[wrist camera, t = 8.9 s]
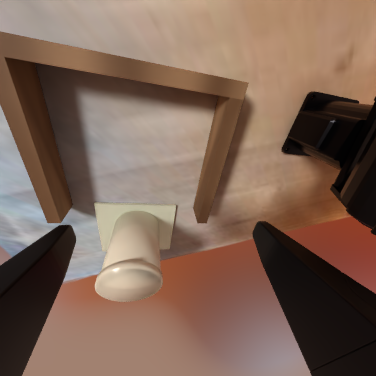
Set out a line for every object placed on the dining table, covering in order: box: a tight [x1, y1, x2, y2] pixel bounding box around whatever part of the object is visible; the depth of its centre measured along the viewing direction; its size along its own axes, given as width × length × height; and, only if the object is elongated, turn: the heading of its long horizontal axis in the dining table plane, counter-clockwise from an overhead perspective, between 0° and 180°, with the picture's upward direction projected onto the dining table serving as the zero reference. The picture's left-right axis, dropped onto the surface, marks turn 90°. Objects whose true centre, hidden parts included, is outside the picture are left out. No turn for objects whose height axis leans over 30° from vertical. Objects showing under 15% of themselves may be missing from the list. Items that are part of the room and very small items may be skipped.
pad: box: [94, 202, 176, 251], centre depth 24 cm, size 10×9×1 cm
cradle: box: [0, 32, 248, 223], centre depth 16 cm, size 17×15×3 cm
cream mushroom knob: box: [95, 211, 163, 302], centre depth 20 cm, size 9×6×8 cm
